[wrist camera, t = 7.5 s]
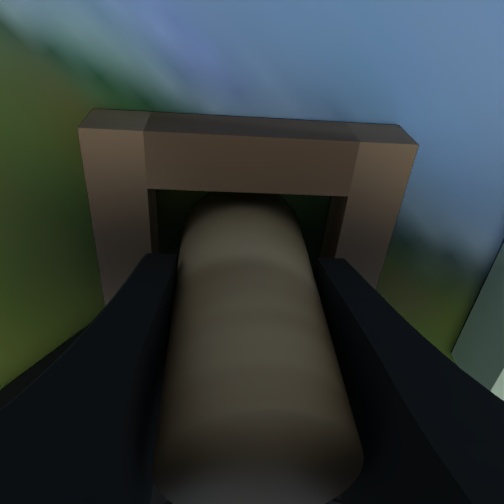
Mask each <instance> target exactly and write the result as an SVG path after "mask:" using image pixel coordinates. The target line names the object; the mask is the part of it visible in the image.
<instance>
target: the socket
mask: <svg viewBox="0 0 504 504" xmlns="http://www.w3.org/2000/svg"><path fill="white" fill-rule="evenodd" d="M77 129H78V135H79V142H80V148H81V154H82V161H83V167H84V174H85V180H86V187H87V193H88V200H89V206H90V212H91V219H92V225H93V232H94V238H95V245H96V251H97V258H98V264H99V271H100V277H101V283H102V290H103V296H104V303H105V306H106V305H107V304H108V303H109V301H110V300H111V299H112V298H113V297H114V295H115V294H116V293H117V292H118V290H119V289H120V288H121V286H122V285H123V284H124V282H125V281H126V280H127V278H128V277H129V276H130V274H131V273H132V272H133V270H134V269H135V267H136V266H137V265H138V263H139V262H140V260H141V259H142V257H144V256H145V255H146V254H147V253H154V254H160V253H159V236H158V219H157V201H156V189H167V190H193V191H219V192H244V193H270V194H296V195H322V196H332V197H331V202H330V207H329V212H328V217H327V223H326V228H325V233H324V238H323V243H322V248H321V253H320V258H344V259H345V260H346V261H347V262H348V263H349V264H350V265H351V266H352V267H353V268H354V269H355V270H356V271H357V272H358V273H359V274H360V275H361V276H362V277H363V278H364V279H365V280H366V281H367V282H368V283H369V284H370V285H371V286H372V287H373V288H374V289H375V290H376V287H377V284H378V281H379V277H380V274H381V271H382V267H383V264H384V261H385V257H386V254H387V250H388V247H389V244H390V240H391V237H392V234H393V230H394V227H395V224H396V220H397V217H398V213H399V210H400V207H401V203H402V200H403V197H404V193H405V190H406V187H407V183H408V180H409V176H410V173H411V170H412V166H413V163H414V160H415V156H416V153H417V150H418V146H419V145H418V144H417V143H416V142H415V141H414V140H413V139H412V138H411V137H410V136H409V135H408V134H407V133H406V132H405V131H404V130H403V129H402V128H401V127H400V126H399V125H388V124H370V123H351V122H333V121H314V120H295V119H277V118H258V117H240V116H221V115H203V114H184V113H165V112H147V111H128V110H110V109H92V110H91V112H90V113H89V114H88V115H87V117H86V118H85V119H84V120H83V121H82V123H81V124H80V125H79V126H78V128H77Z"/></svg>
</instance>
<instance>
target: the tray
mask: <svg viewBox="0 0 504 504" xmlns="http://www.w3.org/2000/svg"><path fill="white" fill-rule="evenodd" d="M451 355H452V357H453V359H454V361H455V362H456V364H457V366H458V367H460V368H461V369H462V370H463V371H464V372H466V373H467V374H468V375H470V376H471V377H472V378H474V379H475V380H476V381H478V382H479V383H480V384H482V385H483V386H484V387H486V388H487V389H488V390H490V391H491V392H492V393H494V394H495V395H496V396H497V397H499V398H500V399H502V400H503V401H504V243H503V245H502V247H501V249H500V251H499V253H498V255H497V257H496V260H495V262H494V264H493V266H492V268H491V270H490V272H489V274H488V277H487V279H486V281H485V283H484V285H483V287H482V289H481V291H480V293H479V296H478V298H477V300H476V302H475V304H474V306H473V308H472V310H471V313H470V315H469V317H468V319H467V321H466V323H465V325H464V327H463V329H462V332H461V334H460V336H459V338H458V340H457V342H456V344H455V346H454V349H453V351H452V353H451Z"/></svg>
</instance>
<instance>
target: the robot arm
mask: <svg viewBox="0 0 504 504" xmlns="http://www.w3.org/2000/svg"><path fill="white" fill-rule="evenodd" d="M176 276H177V259H176V254H154V253H147V254H146V255H145V256H144V257H142V259H141V260H140V262H139V263H138V265H137V266H136V267H135V269H134V270H133V272H132V273H131V274H130V276H129V277H128V278H127V280H126V281H125V282H124V284H123V285H122V286H121V288H120V289H119V290H118V292H117V293H116V294H115V295H114V297H113V298H112V299H111V300H110V301H109V303H108V304H107V305H106V306H105V307H104V309H103V310H102V311H101V312H100V313H99V315H98V316H97V317H96V318H95V319H94V320H93V322H92V323H91V324H90V325H89V326H88V327H87V328H86V329H85V330H84V331H83V332H82V333H81V334H80V336H79V337H78V338H77V339H76V340H75V341H74V342H73V343H72V344H71V345H70V346H69V347H68V348H67V349H66V350H65V352H64V353H63V354H62V355H61V356H60V357H59V358H57V359H56V360H55V361H54V362H53V363H52V364H51V365H50V366H49V367H48V368H47V369H46V370H45V371H44V372H43V373H42V374H41V375H40V376H39V377H38V378H36V379H35V380H34V381H33V382H32V383H31V384H30V385H29V386H28V387H27V388H25V389H24V390H23V391H22V392H21V393H20V394H19V395H18V396H16V397H15V398H14V399H13V400H12V401H10V402H9V403H8V404H7V405H6V406H4V407H3V408H2V409H1V410H0V504H151V495H152V487H153V479H152V464H153V456H154V448H155V440H156V433H157V425H158V417H159V409H160V401H161V393H162V385H163V378H164V370H165V362H166V354H167V346H168V338H169V331H170V323H171V315H172V307H173V299H174V292H175V284H176ZM314 278H315V281H316V285H317V288H318V292H319V296H320V299H321V303H322V306H323V310H324V314H325V317H326V321H327V324H328V328H329V331H330V335H331V339H332V342H333V346H334V349H335V353H336V356H337V360H338V364H339V367H340V371H341V374H342V378H343V381H344V385H345V389H346V392H347V396H348V399H349V403H350V406H351V410H352V414H353V417H354V421H355V424H356V428H357V431H358V435H359V439H360V442H361V446H362V449H363V455H364V461H363V467H362V469H361V472H360V474H359V476H358V477H357V479H356V480H355V481H354V483H353V484H352V485H351V486H350V487H349V488H348V489H347V490H345V491H344V492H343V493H342V494H340V496H341V503H342V504H504V401H503V400H502V399H500V398H499V397H497V396H496V395H495V394H494V393H492V392H491V391H490V390H488V389H487V388H486V387H484V386H483V385H482V384H480V383H479V382H478V381H476V380H475V379H474V378H472V377H471V376H470V375H468V374H467V373H466V372H464V371H463V370H462V369H461V368H460V367H458V366H457V365H456V364H455V363H453V362H452V361H451V360H450V359H449V358H447V357H446V356H445V355H444V354H443V353H442V352H440V351H439V350H438V349H437V348H436V347H435V346H434V345H432V344H431V343H430V342H429V341H428V340H427V339H425V338H424V337H423V336H422V335H421V334H420V333H419V332H418V331H417V330H416V329H414V328H413V327H412V326H411V325H410V324H409V323H408V322H407V321H406V320H405V319H404V318H403V317H402V316H401V315H400V314H399V313H398V312H397V311H396V310H395V309H394V308H392V307H391V306H390V305H389V304H388V303H387V302H386V301H385V300H384V299H383V298H382V297H381V296H380V294H379V293H378V292H377V291H376V290H375V289H374V288H373V287H372V286H371V285H370V284H369V283H368V282H367V281H366V280H365V279H364V278H363V277H362V276H361V275H360V274H359V273H358V272H357V271H356V270H355V269H354V268H353V267H352V266H351V265H350V264H349V263H348V262H347V261H346V260H345V259H344V258H317V259H316V265H315V270H314Z"/></svg>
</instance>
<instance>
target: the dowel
mask: <svg viewBox="0 0 504 504" xmlns="http://www.w3.org/2000/svg"><path fill="white" fill-rule="evenodd" d="M363 461H364V455H363V449H362V446H361V442H360V439H359V435H358V431H357V428H356V424H355V421H354V417H353V414H352V410H351V406H350V403H349V399H348V396H347V392H346V389H345V385H344V381H343V378H342V374H341V371H340V367H339V364H338V360H337V356H336V353H335V349H334V346H333V342H332V339H331V335H330V331H329V328H328V324H327V321H326V317H325V314H324V310H323V306H322V303H321V299H320V296H319V292H318V288H317V285H316V281H315V278H314V274H313V271H312V267H311V263H310V260H309V256H308V253H307V249H306V246H305V242H304V238H303V235H302V231H301V228H300V224H299V221H298V218H297V216H296V214H295V212H294V210H293V209H292V207H291V206H290V205H289V204H288V203H287V202H286V201H285V200H284V199H283V198H281V197H280V196H279V195H277V194H270V193H244V192H219V191H213V192H211V193H209V194H208V195H206V196H204V197H203V198H202V199H200V200H199V201H198V202H197V203H196V204H195V205H194V206H193V207H192V208H191V210H190V211H189V213H188V214H187V217H186V219H185V221H184V224H183V229H182V236H181V244H180V252H179V260H178V268H177V276H176V284H175V292H174V299H173V307H172V315H171V323H170V331H169V338H168V346H167V354H166V362H165V370H164V378H163V385H162V393H161V401H160V409H159V417H158V425H157V433H156V440H155V448H154V456H153V464H152V479H153V481H154V484H155V486H156V488H157V489H158V491H159V492H160V493H161V494H162V495H163V496H164V497H165V498H166V499H167V500H168V501H170V502H171V503H172V504H325V503H327V502H329V501H331V500H333V499H334V498H336V497H337V496H339V495H340V494H342V493H343V492H344V491H345V490H347V489H348V488H349V487H350V486H351V485H352V484H353V483H354V481H355V480H356V479H357V477H358V476H359V474H360V472H361V469H362V467H363Z"/></svg>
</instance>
